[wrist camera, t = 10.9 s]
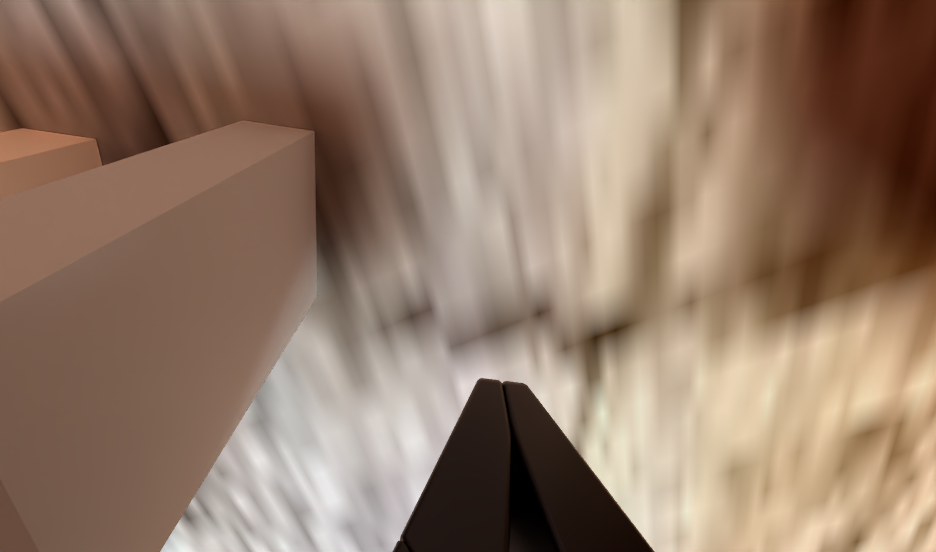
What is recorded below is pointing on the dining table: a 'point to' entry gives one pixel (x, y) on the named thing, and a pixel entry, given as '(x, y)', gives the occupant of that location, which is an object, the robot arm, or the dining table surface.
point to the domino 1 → (42, 158)
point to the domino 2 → (144, 329)
